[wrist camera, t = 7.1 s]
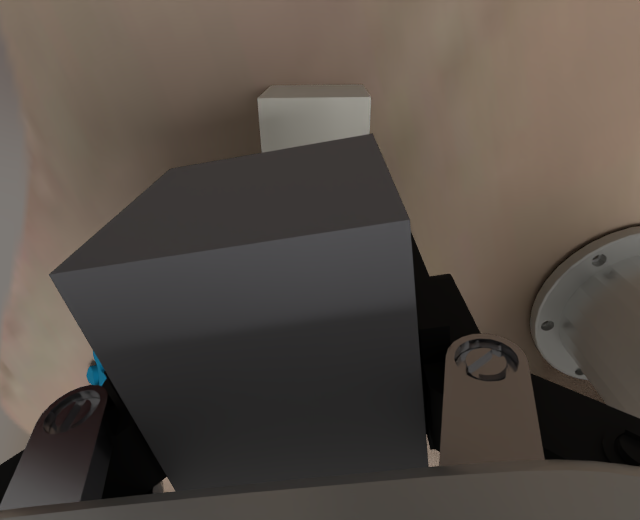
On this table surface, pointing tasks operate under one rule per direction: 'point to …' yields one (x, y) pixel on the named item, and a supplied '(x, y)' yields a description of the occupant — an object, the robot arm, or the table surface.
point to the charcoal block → (261, 317)
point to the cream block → (312, 114)
